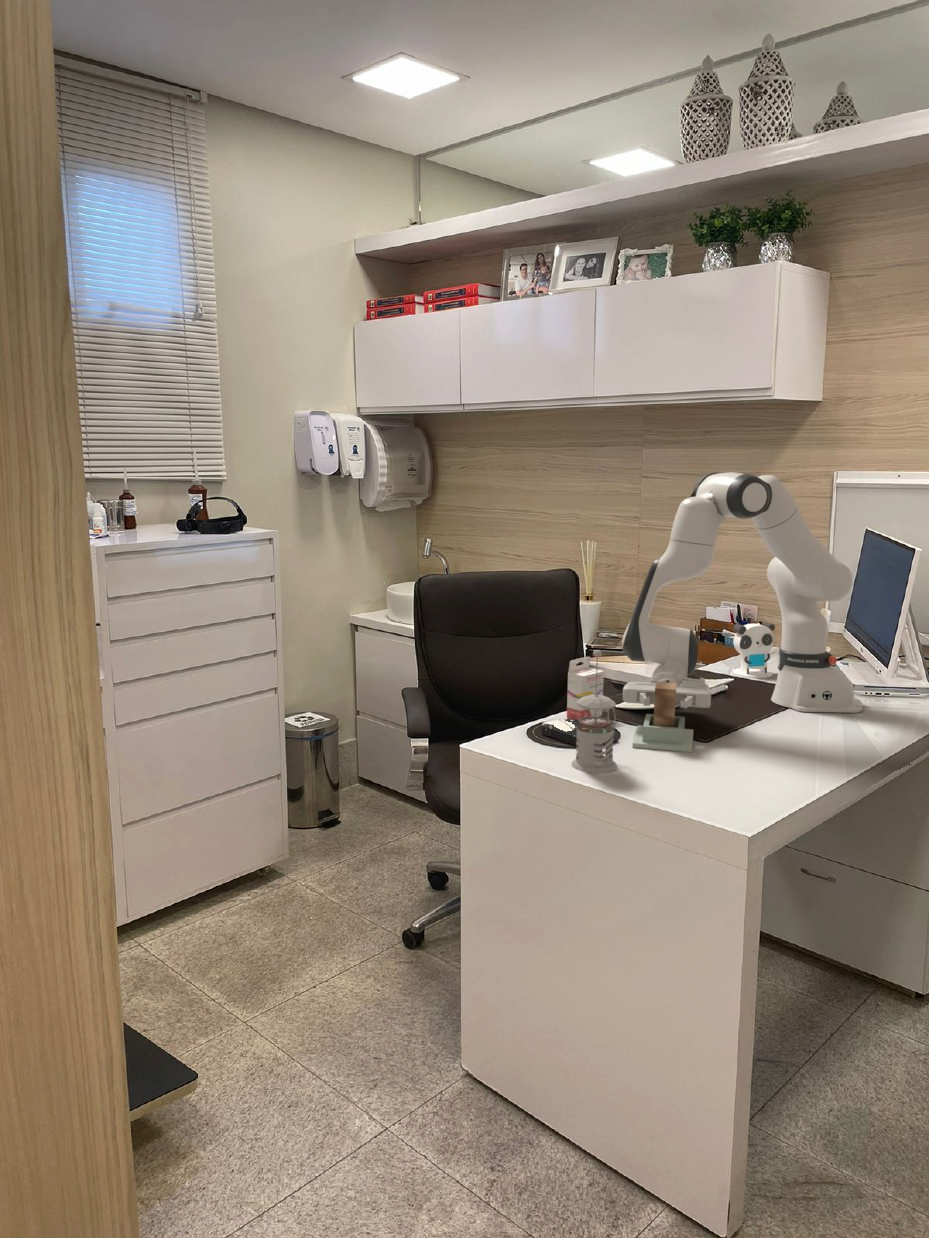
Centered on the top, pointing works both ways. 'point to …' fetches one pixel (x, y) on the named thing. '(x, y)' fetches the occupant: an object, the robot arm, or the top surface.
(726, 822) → the top surface
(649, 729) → the socket dock
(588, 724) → the french press
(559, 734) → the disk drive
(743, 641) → the panda figurine
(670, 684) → the walnut block
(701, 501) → the robot arm
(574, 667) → the ink cartridge box
